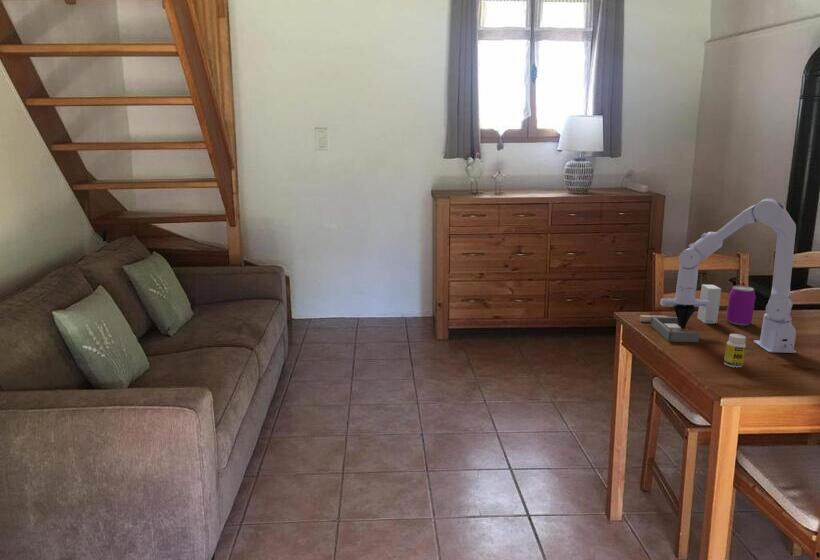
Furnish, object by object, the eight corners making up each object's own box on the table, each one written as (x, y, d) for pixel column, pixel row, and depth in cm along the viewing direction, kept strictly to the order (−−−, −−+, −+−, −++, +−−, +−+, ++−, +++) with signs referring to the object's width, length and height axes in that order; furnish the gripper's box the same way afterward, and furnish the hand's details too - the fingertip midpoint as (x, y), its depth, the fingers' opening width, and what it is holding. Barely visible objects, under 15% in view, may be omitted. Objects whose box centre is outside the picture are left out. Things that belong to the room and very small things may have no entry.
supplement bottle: (732, 368, 174) (736, 339, 172) (719, 362, 179) (723, 333, 177) (746, 367, 176) (751, 337, 174) (733, 361, 180) (738, 332, 178)
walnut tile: (687, 339, 198) (688, 333, 198) (674, 339, 198) (675, 333, 198) (682, 335, 202) (683, 329, 202) (669, 335, 202) (670, 329, 202)
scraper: (678, 325, 212) (679, 319, 211) (643, 324, 212) (643, 318, 211) (670, 318, 218) (671, 313, 218) (636, 317, 219) (637, 312, 218)
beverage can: (746, 320, 219) (751, 285, 216) (754, 326, 211) (760, 291, 209) (722, 318, 220) (727, 284, 217) (730, 325, 212) (735, 290, 210)
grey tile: (680, 333, 204) (681, 327, 204) (667, 333, 204) (668, 327, 204) (675, 329, 208) (676, 323, 207) (663, 329, 208) (663, 323, 208)
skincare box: (717, 323, 214) (722, 288, 211) (704, 323, 214) (708, 288, 211) (709, 318, 220) (714, 284, 217) (696, 318, 220) (701, 284, 217)
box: (698, 342, 195) (699, 332, 194) (668, 341, 195) (669, 332, 195) (678, 326, 211) (679, 317, 210) (650, 325, 211) (651, 316, 210)
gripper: (704, 283, 206) (699, 324, 209) (658, 282, 206) (654, 323, 210) (714, 289, 199) (708, 331, 202) (666, 288, 200) (661, 330, 203)
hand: (681, 327), depth 206 cm, fingers closed
